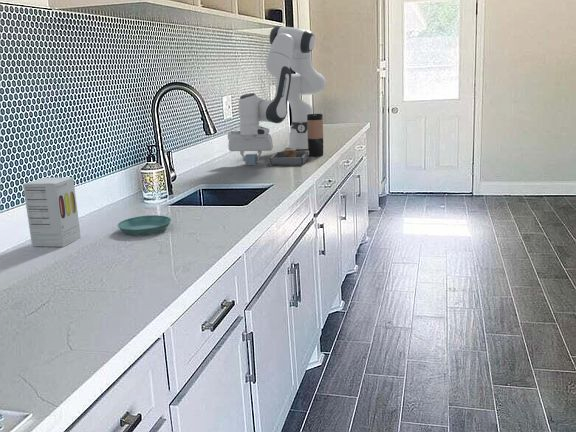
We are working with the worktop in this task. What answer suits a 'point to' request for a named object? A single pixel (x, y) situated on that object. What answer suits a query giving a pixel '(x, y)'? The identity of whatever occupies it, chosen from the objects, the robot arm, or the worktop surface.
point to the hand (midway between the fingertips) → (251, 160)
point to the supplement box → (52, 211)
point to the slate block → (250, 159)
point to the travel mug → (315, 134)
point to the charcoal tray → (288, 159)
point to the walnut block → (290, 153)
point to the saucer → (144, 225)
